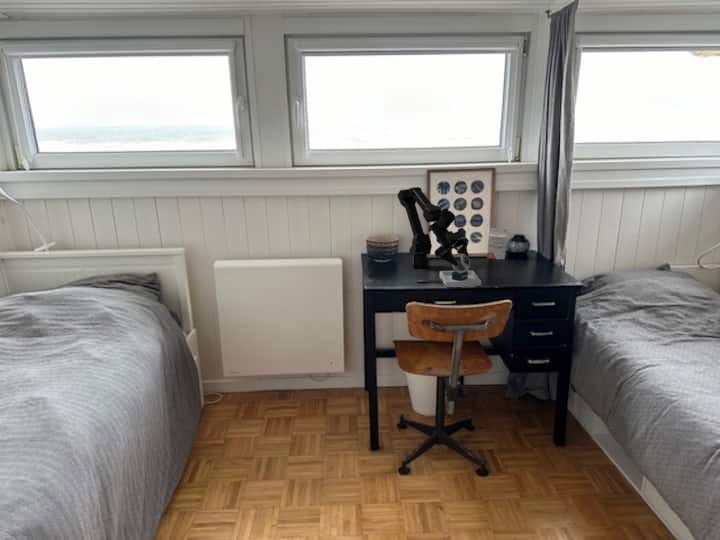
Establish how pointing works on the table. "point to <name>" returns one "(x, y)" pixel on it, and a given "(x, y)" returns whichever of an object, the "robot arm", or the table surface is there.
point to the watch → (461, 274)
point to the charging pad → (448, 281)
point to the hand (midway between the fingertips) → (463, 263)
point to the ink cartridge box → (497, 243)
